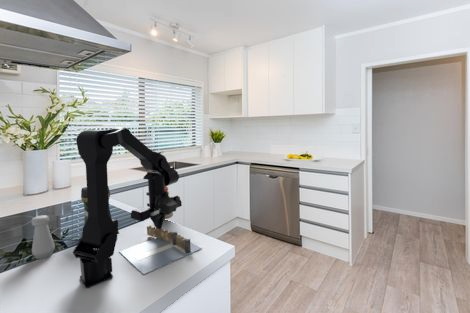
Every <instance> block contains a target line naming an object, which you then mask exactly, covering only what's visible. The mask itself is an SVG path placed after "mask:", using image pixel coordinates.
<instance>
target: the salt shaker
mask: <svg viewBox="0 0 470 313" xmlns="http://www.w3.org/2000/svg"><path fill="white" fill-rule="evenodd" d="M49 222H50V218H49V216H48V215H46V214H44V215H43V214H42V215H37V216H35V217H33V218H32V219H31V226H32V227H34V228H33V229H34V231H33V237H32V246H31V254H32V256H34V258H35V259H36V260H43V259H46V258H50V256H52V254H54V250H55V248H56V246H55V242H54V239H53V237H52V234H51V231H50V228H49V225H48V224H49Z"/></svg>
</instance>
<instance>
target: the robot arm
mask: <svg viewBox="0 0 470 313" xmlns="http://www.w3.org/2000/svg"><path fill="white" fill-rule="evenodd" d="M76 145H77V151H78V154H79V156H80V158H81V159H82V161H83V162H84V164H85V175H86V178H85V180H86V187H87V199H88V219H87V221H86V223H85V225H83V226H82V233H81V234H82V235H81V238H80V240H79V241H78V243H77V245H76V246H75V247H74V249H73V251H72V254H73V256H74V258H76V259H79V264H80V273H81V274H80V275H79V279H80V281H81V282H82V284H83V285H84V287H85V288H86V289H89V288H90V287H93V286H96V285H98V284H100V283H103V282H105V281H108V280H109V279H112V278H114V276H113V273H112V272H113V262H112V256H114V254H115V249H116V243H117V241H118V235H119V234H120V232H119V220H118V219H115V218H112V216H111V217H110V215H109V208H110V199H109V200H108V187H109V184H108V182H109V181H108V180H109V179H108V162H109V160H110V159H111V157H112V155H113V151H114V147H116V146H119V145H120V146H121V147H122V148H124V150H126V151H128V152H129V153H130V154H132V155H133V156H134V157H135V158H137V159H138V160H139V162H140V165H141V166H142V167H143V168H144V169H145V170H146V171H148V172H146V174H145V175H144V176H143V180H147V183H148V184H147V186H148V192H146V196H148V203H147V204H146V206H147V207H148V208H145V207H142V206H141V207H138V208H134V209H132V210H131V212H130V219H132V220H135V221H137V222H138V221H139V222H143V221H146V220H149V219H150V220H151V221H152V223H153V225H154V227H155V228H159V230H160V229H163V228H162V227H163V224H164V220H165V219H164V218H165V216H166V215H167V214H170V213H171V212H173V213H174V212H177V209H178V208H180V207H182V206H183V205H182V199H181V197H180V196H179V195H175V196H171V197H169V196H170V195H169V196H168V192H169V191H168V190H167V191H168V192H167V191H165V186H167V187H169V186H170V185H172V184H173V185H174V184H175V183H177V182H178V181H179V178H180V174H179V173H178V171H177V170H176V169H175V166H171V165H170V163H169V162H168V160H167V158H166V156H165V155H163V154H161V153H159V152H157V151H155V150H154V151H153V150H152V149H150V148H149V147H148V146H147V145H146V144H144V142H142V141H141V140H140V139H139V138H138V137H136V136H135V135H134V134H132V132H131V130H130V129H128V128H126V127H113V128H110V129H105V130H103V129H100V130H99V129H98V130H97V129H96V130H94V129H93V130H92V129H91V130H89V129H88V130H83V131H80V133H79V134H78V135H76ZM111 218H112V219H111Z"/></svg>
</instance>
